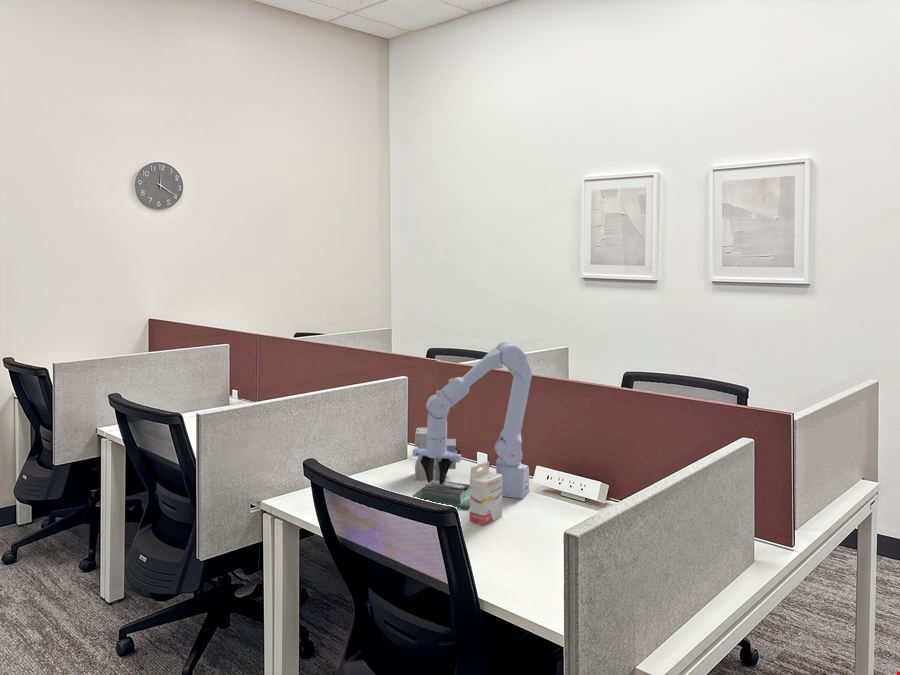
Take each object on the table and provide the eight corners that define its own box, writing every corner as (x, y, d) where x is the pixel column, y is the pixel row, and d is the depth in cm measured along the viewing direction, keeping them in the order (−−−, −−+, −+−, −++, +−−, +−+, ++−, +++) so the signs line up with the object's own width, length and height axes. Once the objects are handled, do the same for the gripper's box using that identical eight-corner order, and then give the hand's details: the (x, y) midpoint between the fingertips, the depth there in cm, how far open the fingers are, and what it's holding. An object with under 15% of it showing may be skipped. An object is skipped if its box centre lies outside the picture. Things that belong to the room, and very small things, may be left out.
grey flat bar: (466, 488, 201) (466, 485, 201) (462, 491, 198) (462, 488, 198) (432, 481, 205) (432, 478, 205) (428, 484, 202) (429, 481, 202)
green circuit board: (483, 494, 205) (483, 481, 204) (467, 510, 193) (467, 496, 192) (427, 487, 211) (427, 474, 211) (408, 501, 200) (408, 487, 199)
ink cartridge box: (484, 526, 181) (484, 471, 179) (468, 522, 184) (468, 467, 182) (503, 516, 188) (503, 463, 186) (488, 512, 191) (488, 460, 189)
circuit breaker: (461, 480, 218) (460, 433, 216) (415, 480, 218) (414, 433, 216) (461, 473, 225) (460, 427, 223) (416, 473, 225) (416, 427, 223)
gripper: (408, 437, 200) (407, 483, 202) (455, 443, 195) (454, 490, 196) (418, 431, 207) (418, 476, 208) (464, 437, 201) (463, 483, 203)
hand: (436, 483), depth 203 cm, fingers closed on grey flat bar, 3 cm apart
